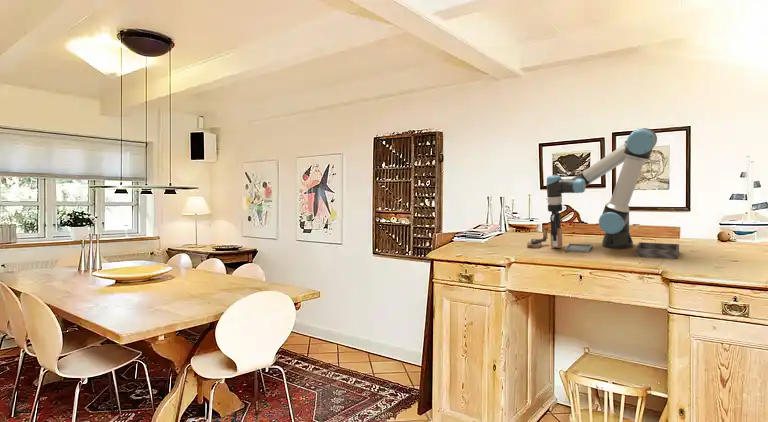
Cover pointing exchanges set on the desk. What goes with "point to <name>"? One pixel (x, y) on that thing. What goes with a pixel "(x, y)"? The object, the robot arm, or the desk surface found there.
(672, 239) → the desk surface
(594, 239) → the desk surface
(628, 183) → the robot arm
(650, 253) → the bin
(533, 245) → the crank base
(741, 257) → the desk surface
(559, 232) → the post
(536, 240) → the crank
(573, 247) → the tray
